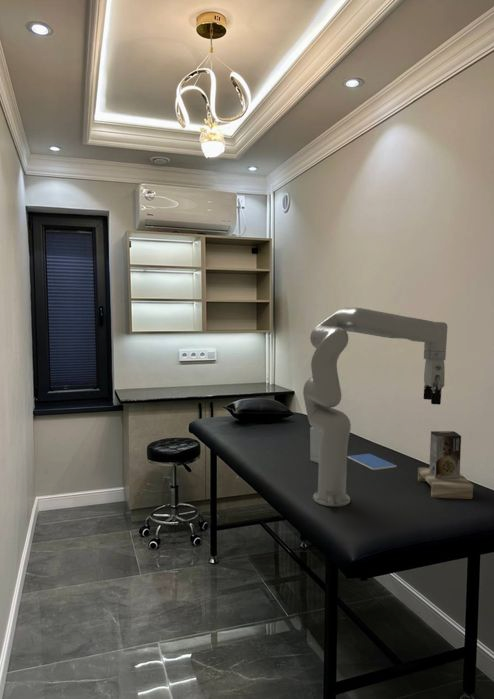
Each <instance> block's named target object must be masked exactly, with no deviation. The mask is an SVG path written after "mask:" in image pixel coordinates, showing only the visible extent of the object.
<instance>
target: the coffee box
mask: <svg viewBox="0 0 494 699" xmlns="http://www.w3.org/2000/svg"><path fill="white" fill-rule="evenodd" d="M461 444H462V435H460V434H459V433H457V432H456V431H453V430H452V431H450V430H449V431H446V430H445V431H444V430H443V431H442V430H441V431H439V430H438V431H435V430H434V431H430V444H429V446H430V447H429V448H430V449H429V467H428V468H429V473H430V474H431V475H432V476H433V477H434V478H460V474H461V452H462V451H461V449H462V445H461Z"/></svg>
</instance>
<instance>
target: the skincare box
mask: <svg viewBox="0 0 494 699" xmlns="http://www.w3.org/2000/svg"><path fill="white" fill-rule="evenodd" d="M322 436H323V434H322V433H321V432H319V431H317V430H315V429H314V428H313V427H312V426H311V427H309V438H310V441H309V442H310V446H309V447H310V451H309V452H310V453H309V454H310V455H309V456H310V458H309V459H310V461H312V462H314V463H317V464H319V446H320V442H321V439H322Z"/></svg>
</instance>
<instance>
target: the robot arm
mask: <svg viewBox="0 0 494 699" xmlns="http://www.w3.org/2000/svg"><path fill="white" fill-rule="evenodd" d="M348 332H349V333H358V334H364V335H369V336H375V337H380V338H387V339H388V338H389V339H400V340H401V339H405V340H408V341H412V342H417V343H419V342H420V343H424V346H423V347H424V348H423V360H425V362H424V364H425V365H424V372H423V382H424V385H423V399H424V400H429V401H430V400H431V401H430V403H431V405H439V406H440V405H441V403H442V402H441V401H442V389H443V388H444V387H445V379H446V378H445V370H446V369H445V361H446V356H447V342H448V341H447V340H448V339H447V338H448V324H447V323H446V322H443V321H433V320H427V319H422V318H416V317H410V316H403V315H399V314H394V313H390V312H383V311H378V310H373V309H367V308H362V307H344V308H340V309H339V310H337V311H335V312H334V313H333V314H332V315H330V316H329V317H327V318H326V319H324V320H323V321H322V322H320V323H319V324H318V325H317V326H315V327H314V328H313V329H312V331H311V333H310V337H309V340H310V343H311V345H312V346H313V347H314V348H315V351H314V353H313V355H312V357H311V361H310V368H311V377H310V378H308V379H307V380H306V382H305V383H304V385H303V391H302V392H303V393H302V394H303V400H304V406H305V411H306V415H307V419H308V423H309V425H310V427H311V428H312V427H313V428H314V429H315V430H317V431H319V432H321V433H322V434H323V436H322V439H321V442H320V446H319V463H318V473H317V476H318V478H317V480H318V481H317V491H316V492H314V494H313V495H312V498H313V500H314V502H315V503H317V504H319V505H322V506H326V507H338V508H339V507H343V506H346V505H349V503H351V497H350V496H349V495H348V494H347V470H348V469H347V465H348V464H347V462H348V458H347V457H348V443H349V438H350V434H351V433H350V432H351V429H352V428H351V427H352V426H351V425H352V424H351V421H350V420H351V419H350V418H349V417H348V415H347V414H346V413H344V412H343V411H341V410H338V409H337V408H335V407H337V406H338V405H339V404H340V403H341V400H342V390H341V384H340V380H339V374H338V367H337V366H338V359H339V357H340V355H341V354H342V353H343V351H344V350H345V348H347V346H348V344H349V334H348Z"/></svg>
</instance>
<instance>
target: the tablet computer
mask: <svg viewBox="0 0 494 699" xmlns="http://www.w3.org/2000/svg"><path fill="white" fill-rule="evenodd" d="M347 459H350V460H351V461H354V462H356V463H357V464H360V465H362V466H364V467H366V468H368V469H369V470H372V471H379V470H386V469H393V468H397V465H396V464H394V463H392V462H389V461H388V460H385V459H384V458H380V457H378V456H376V455H374V454H372V453H363V454H353V455H347Z"/></svg>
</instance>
